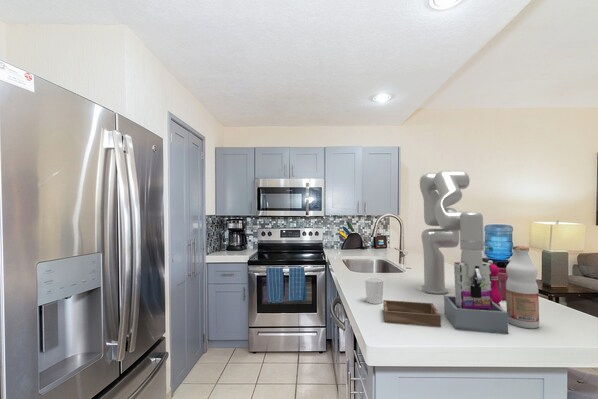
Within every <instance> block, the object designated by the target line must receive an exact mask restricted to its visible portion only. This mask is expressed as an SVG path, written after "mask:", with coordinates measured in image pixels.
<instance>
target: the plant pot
mask: <svg viewBox="0 0 598 399" xmlns="http://www.w3.org/2000/svg"><path fill="white" fill-rule="evenodd" d="M498 268H499V274H498V275H497V276H498V280H497V288H498V290H499V292H500V294H501V298H502V300H501V301H506V281H507V279H508V276H507V273H506V267H498Z"/></svg>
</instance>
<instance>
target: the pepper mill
mask: <svg viewBox="0 0 598 399" xmlns="http://www.w3.org/2000/svg"><path fill="white" fill-rule="evenodd" d="M493 262H494V261H493V260H490V259H489V260H488V261H487V263H488V264H490V267H491V290H492V301H493V302H494V303H495V304H497V305H498V306H499V307H501V304H500V303H501V302H502V301H503V300H502V298H501V294H500V292H499V290H498V288H497V280H498V276H497V275H498V274H499V268H500V267H498V266H497V265H496V264H493Z"/></svg>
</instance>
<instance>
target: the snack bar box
mask: <svg viewBox="0 0 598 399" xmlns="http://www.w3.org/2000/svg"><path fill="white" fill-rule="evenodd" d="M453 270H454V271H453V272H454V274H453V275H454V293H455V294H454V297H455V301H456V306H457V307H459V308H460V309H474V310H486V309H492V290H491V267H490V264H489V263H488V262H484V261H483V277H482V281H481V298H472V297H471V286H472V284H471V277H470V278H468V277H467V265H466V264H465V263H463V262H461V261H459V262H453ZM473 277H476V276H473ZM474 281H475V279H474Z"/></svg>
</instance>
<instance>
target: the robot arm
mask: <svg viewBox="0 0 598 399" xmlns="http://www.w3.org/2000/svg"><path fill="white" fill-rule="evenodd" d="M470 180H471V179H470V177H469V174H468V173H467V172H466V171H464V170H442V171H439V172H436V173H435V172H432V173H431V172H430V173H425V174H423V175H421V177H420V179H419V188H420V189H419V190H420V193H421V195H422V198H423V217H424V218H423V219H424V223H425V225H426V226H429V227H440V228H428V229H427V228H426V229H424V230H423V231H422V233H421V243H422V249H423V278H424V279H423V280H424V281H423V284H424V285H423V286H421V287H420V289H421V291H422V292H424V293H427V294H434V295H446V294H448V293H449V289H448V288H446V281H445V280H446V279H445V278H446V276H445V273H446V272H445V255H444V254H443V252H442V251H441V250H440V249H441V248H446V249H448V248H450V249H451V248H453V249H454V248H457V247H458V246H459V249H460V250H461V252H460V253H461V254H460V262H463V263H465V264H466V265H467V277H468V278H470V277H471V284H472V286H471V297H472V298H481V281H482V277H483V262H484V261H483V260H484V259H483V253H482V252H483V251H484V249H485V246H484V243H485V242H484V241H485V240H484V217H483V214H482V213H481V212H476V211H475V212H473V211H457V210H456V209H455V208H453V207H450V206H453V205H456V204H457V203H458V202H460V201H461V200H462V198H463V192H462V190H465V189H467V188H468V187H469V186H470V182H471V181H470ZM473 276H476V277H473ZM474 279H475V281H474Z"/></svg>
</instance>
